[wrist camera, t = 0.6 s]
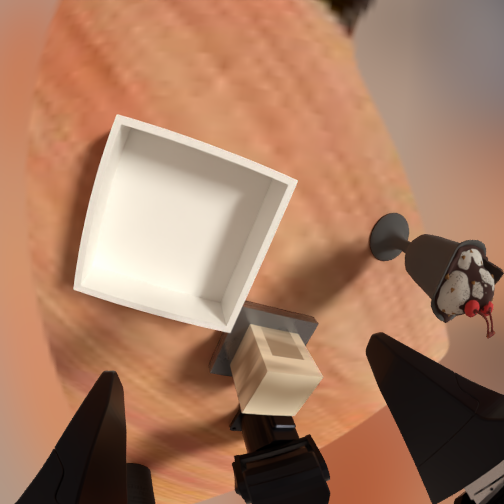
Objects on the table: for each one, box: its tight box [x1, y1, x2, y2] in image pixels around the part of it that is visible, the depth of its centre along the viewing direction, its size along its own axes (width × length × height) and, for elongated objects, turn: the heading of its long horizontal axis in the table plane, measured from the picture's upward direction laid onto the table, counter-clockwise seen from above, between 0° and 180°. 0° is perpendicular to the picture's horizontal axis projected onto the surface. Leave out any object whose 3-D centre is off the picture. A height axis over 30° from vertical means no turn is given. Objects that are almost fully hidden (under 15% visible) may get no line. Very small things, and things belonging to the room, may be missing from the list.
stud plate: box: [209, 301, 318, 377], centre depth 26 cm, size 8×8×5 cm
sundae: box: [370, 213, 504, 338], centre depth 20 cm, size 7×7×15 cm
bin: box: [73, 114, 298, 333], centre depth 20 cm, size 12×12×4 cm
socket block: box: [230, 324, 323, 416], centre depth 24 cm, size 5×5×6 cm
